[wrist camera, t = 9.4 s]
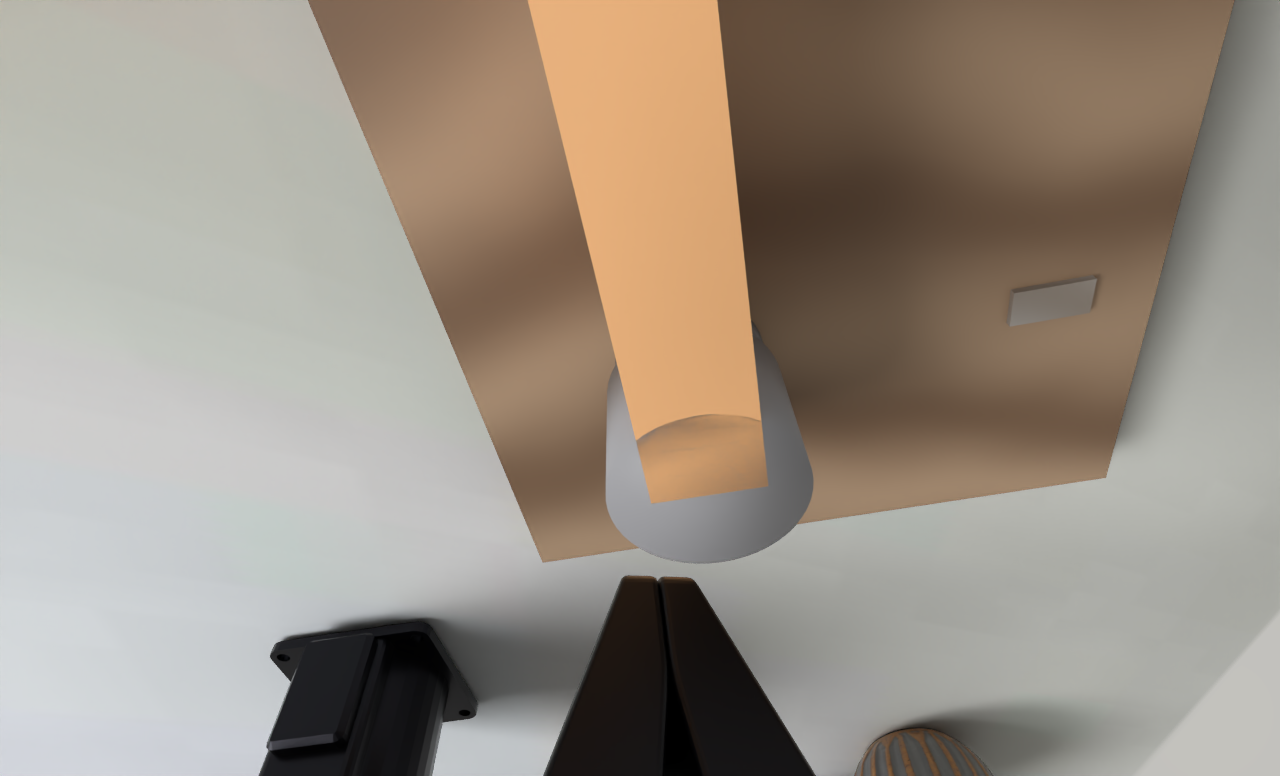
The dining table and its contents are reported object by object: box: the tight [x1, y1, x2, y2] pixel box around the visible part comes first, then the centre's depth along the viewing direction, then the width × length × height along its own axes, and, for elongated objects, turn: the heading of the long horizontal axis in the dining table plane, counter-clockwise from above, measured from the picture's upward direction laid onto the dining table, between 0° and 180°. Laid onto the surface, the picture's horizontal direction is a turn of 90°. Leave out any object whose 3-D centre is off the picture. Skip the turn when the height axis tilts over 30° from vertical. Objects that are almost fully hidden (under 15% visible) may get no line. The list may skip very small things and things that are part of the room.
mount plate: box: [308, 0, 1235, 562], centre depth 17 cm, size 20×18×3 cm
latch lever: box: [528, 0, 814, 563], centre depth 13 cm, size 16×4×4 cm, turn 10°
